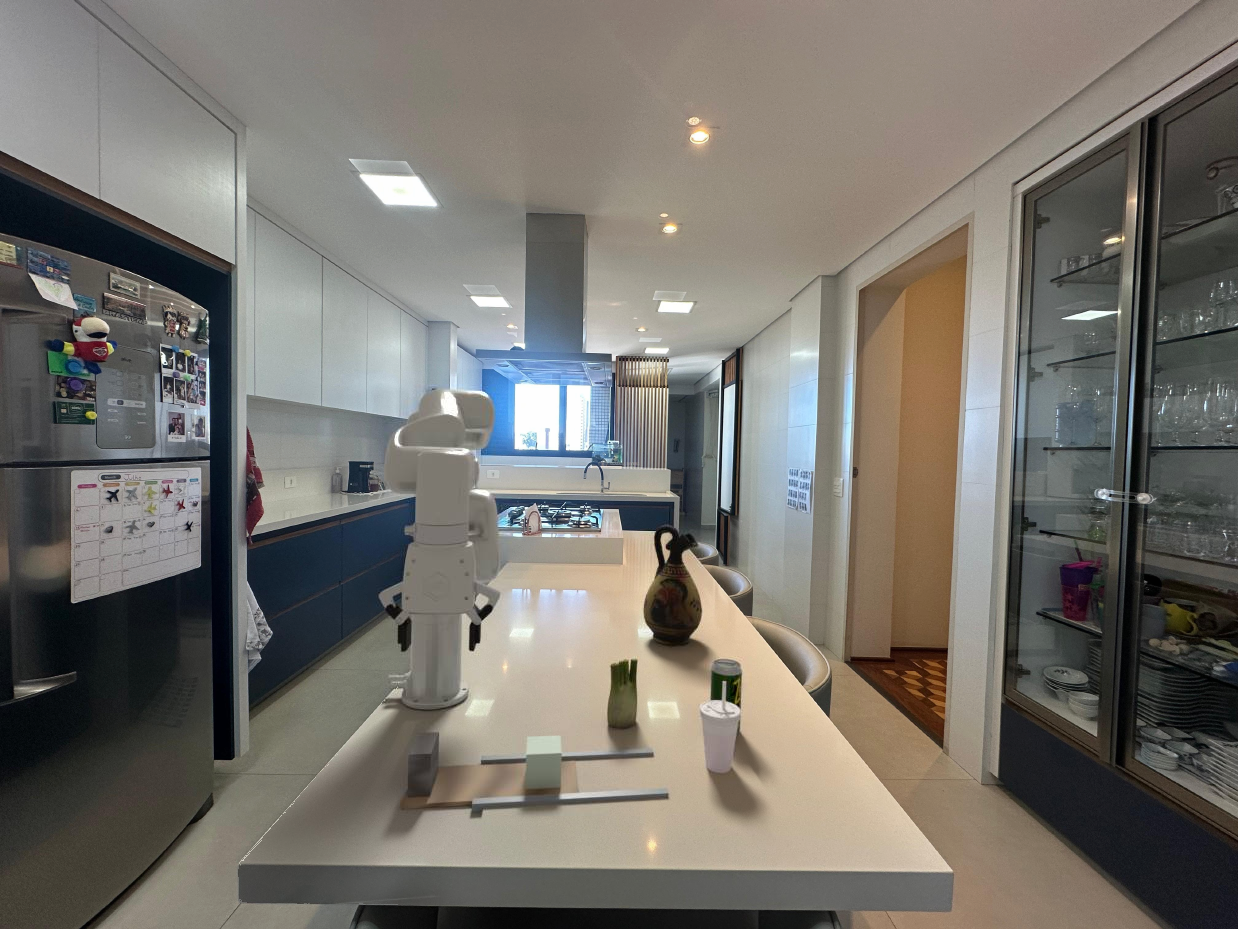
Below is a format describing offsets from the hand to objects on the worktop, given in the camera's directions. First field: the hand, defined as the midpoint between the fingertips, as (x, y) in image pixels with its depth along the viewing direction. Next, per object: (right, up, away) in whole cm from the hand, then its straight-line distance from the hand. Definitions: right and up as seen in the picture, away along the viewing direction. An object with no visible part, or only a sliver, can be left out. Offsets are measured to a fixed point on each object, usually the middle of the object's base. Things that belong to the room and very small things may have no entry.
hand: (439, 648), depth 84 cm
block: (+15, -19, -1) cm, 24 cm away
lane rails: (+19, -20, 0) cm, 28 cm away
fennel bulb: (+27, -20, +17) cm, 38 cm away
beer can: (+45, -20, +16) cm, 52 cm away
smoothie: (+42, -20, +4) cm, 47 cm away
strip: (+9, -19, -2) cm, 21 cm away
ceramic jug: (+40, -19, +65) cm, 79 cm away
